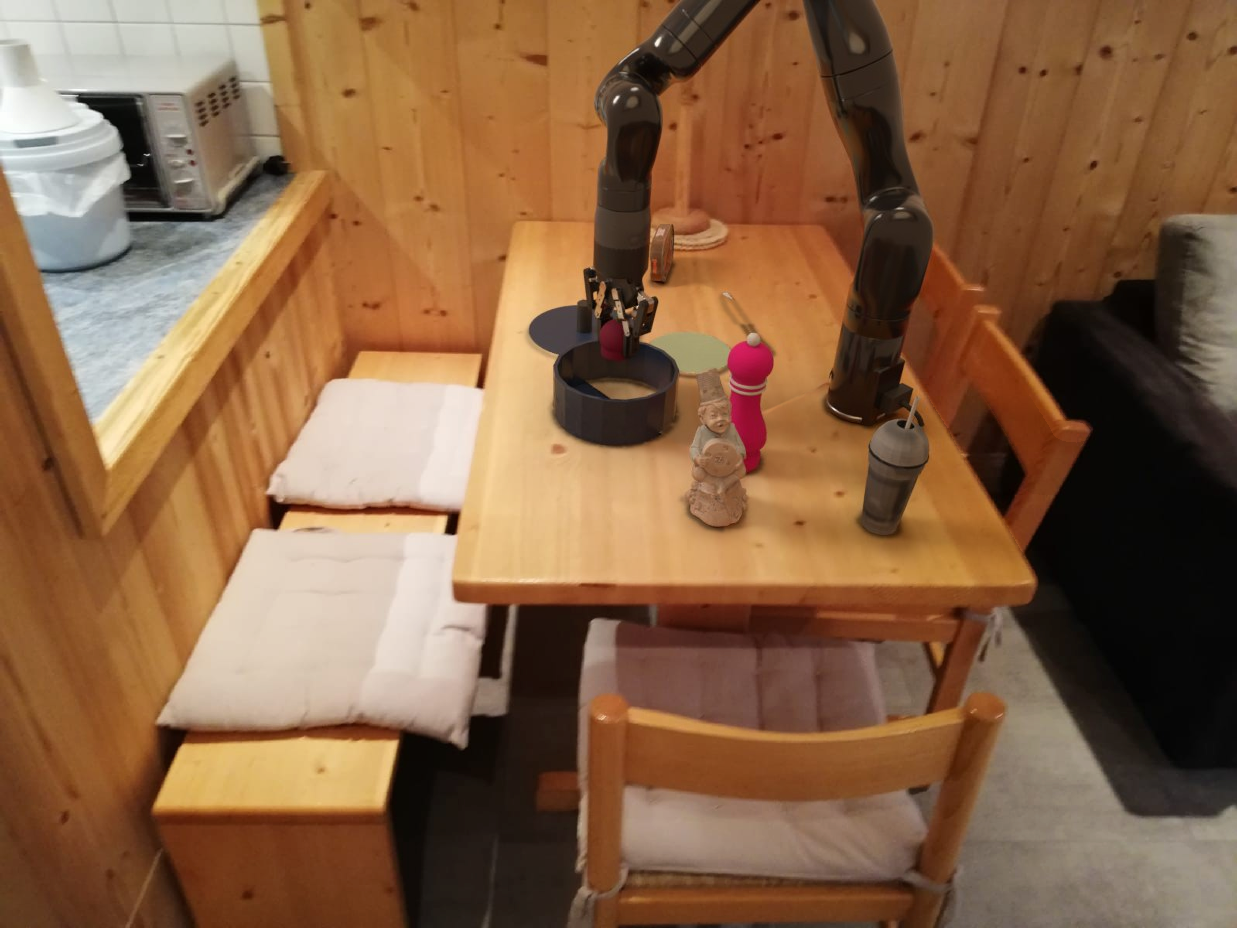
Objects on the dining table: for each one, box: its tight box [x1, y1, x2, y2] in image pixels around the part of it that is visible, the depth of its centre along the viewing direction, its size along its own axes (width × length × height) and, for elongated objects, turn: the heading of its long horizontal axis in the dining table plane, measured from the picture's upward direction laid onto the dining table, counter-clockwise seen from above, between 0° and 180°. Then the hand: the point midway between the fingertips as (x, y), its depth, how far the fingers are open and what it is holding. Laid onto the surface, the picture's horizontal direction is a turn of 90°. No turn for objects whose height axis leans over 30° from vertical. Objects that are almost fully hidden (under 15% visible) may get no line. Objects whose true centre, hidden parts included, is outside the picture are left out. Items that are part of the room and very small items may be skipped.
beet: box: [599, 308, 632, 361], centre depth 129 cm, size 5×5×7 cm
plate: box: [650, 331, 732, 374], centre depth 151 cm, size 14×14×1 cm
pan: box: [552, 339, 680, 447], centre depth 135 cm, size 18×18×8 cm
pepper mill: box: [726, 332, 775, 473], centre depth 122 cm, size 7×7×20 cm
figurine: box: [684, 367, 749, 527], centre depth 113 cm, size 9×8×20 cm
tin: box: [649, 223, 675, 283], centre depth 176 cm, size 15×3×8 cm, turn 168°
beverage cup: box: [861, 395, 930, 536], centre depth 112 cm, size 7×7×20 cm
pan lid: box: [528, 299, 634, 356], centre depth 154 cm, size 19×19×6 cm
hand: (617, 347), depth 131 cm, fingers closed on beet, 5 cm apart
